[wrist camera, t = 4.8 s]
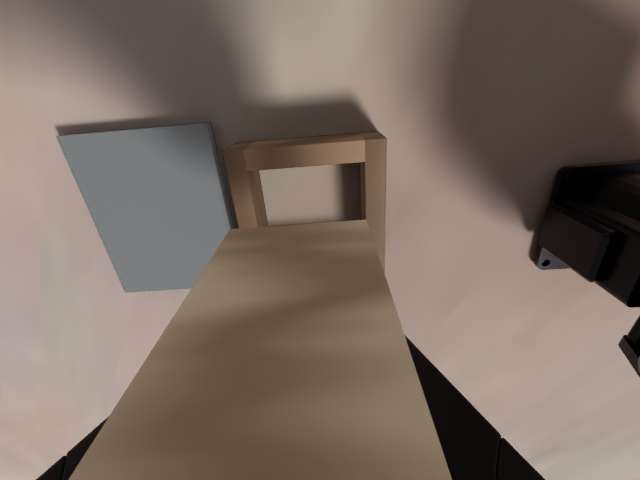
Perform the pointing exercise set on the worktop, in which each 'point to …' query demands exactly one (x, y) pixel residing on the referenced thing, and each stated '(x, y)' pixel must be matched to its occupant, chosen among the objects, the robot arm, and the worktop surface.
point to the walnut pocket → (310, 152)
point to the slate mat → (153, 200)
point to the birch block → (277, 372)
